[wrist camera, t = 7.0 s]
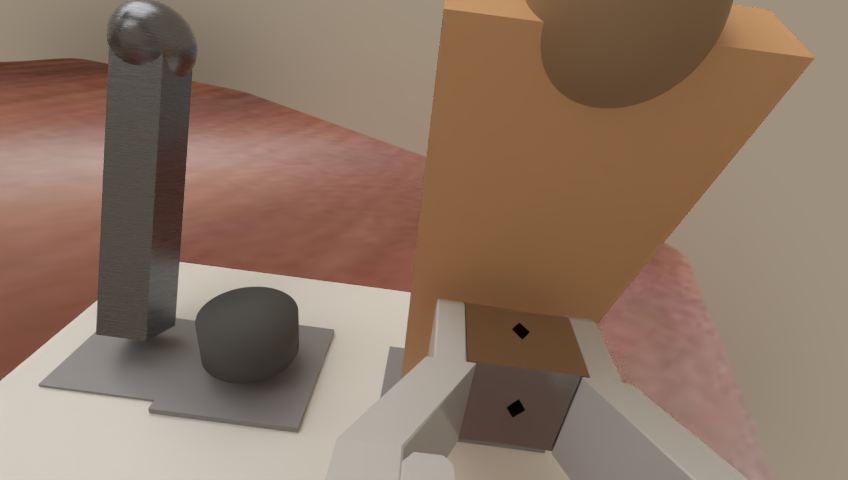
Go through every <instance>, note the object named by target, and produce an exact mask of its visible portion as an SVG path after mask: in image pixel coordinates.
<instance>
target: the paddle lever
mask: <svg viewBox="0 0 848 480" xmlns="http://www.w3.org/2000/svg"><path fill="white" fill-rule="evenodd" d="M732 3H733V0H445V4H444V10H443V19H442V27H441V37H440V45H439V54H438V62H437V71H436V79H435V89H434V97H433V105H432V114H431V123H430V132H429V140H428V150H427V157H426V166H425V175H424V183H423V192H422V201H421V209H420V218H419V227H418V235H417V244H416V253H415V261H414V270H413V279H412V287H411V296H410V305H409V313H408V322H407V331H406V339H405V348H404V357H403V365H402V374H401V379H402V378H403V377H404V376H405V375H406V374H407V373H408V372H410V371H411V370H412V369H413V368H414V367H415V366H416V365H417V364H418V363H419V362H420V361H422V360H423V359H424V358H425V357H426V356H428V351H429V344H430V338H431V332H432V327H433V321H434V315H435V309H436V303H437V300H438V299H445V300H452V301H460V302H463V303H464V302H467V303H473V304H479V305H486V306H492V307H499V308H505V309H511V310H515V311H522V312H530V313H538V314H546V315H554V316H562V317H565V316H568V317H578V318H587V319H592V320H593V321H595V322H596V324H598V323H599V321H600V320H601V319H602V318H603V316H604V315H605V314H606V313H607V312H608V310H609V309H610V308H611V307H612V305H613V304H614V303H615V302H616V301H617V299H618V298H619V297H620V296H621V294H622V293H623V292H624V291H625V290H626V288H627V287H628V286H629V285H630V283H631V282H632V281H633V280H634V279H635V277H636V276H637V275H638V274H639V272H640V271H641V270H642V269H643V268H644V266H645V265H646V264H647V263H648V261H649V260H650V259H651V258H652V257H653V255H654V254H655V253H656V252H657V250H658V249H659V248H660V247H661V245H662V244H663V243H664V242H665V240H666V239H667V238H668V237H669V236H670V234H671V233H672V232H673V231H674V230H675V228H676V227H677V226H678V225H679V223H680V222H681V221H682V219H683V218H684V217H685V216H686V215H687V214H688V212H689V211H690V210H691V209H692V208H693V206H694V205H695V204H696V203H697V201H698V200H699V199H700V198H701V196H702V195H703V194H704V193H705V192H706V190H707V189H708V188H709V187H710V186H711V184H712V183H713V182H714V181H715V179H716V178H717V177H718V176H719V175H720V173H721V172H722V171H723V170H724V168H725V167H726V166H727V164H728V163H729V162H730V161H731V160H732V159H733V157H734V156H735V155H736V154H737V152H738V151H739V150H740V149H741V148H742V146H743V145H744V144H745V143H746V141H747V140H748V139H749V138H750V137H751V135H752V134H753V133H754V132H755V130H756V129H757V128H758V126H759V125H760V124H761V123H762V122H763V121H764V119H765V118H766V117H767V116H768V114H769V113H770V112H771V111H772V110H773V108H774V107H775V106H776V105H777V103H778V102H779V101H780V100H781V99H782V97H783V96H784V95H785V94H786V93H787V91H788V90H789V89H790V88H791V86H792V85H793V84H794V83H795V81H796V80H797V79H798V78H799V76H800V75H801V74H802V73H803V72H804V70H805V69H806V68H807V67H808V65H809V64H810V63H811V62H812V61H813V59H814V57H813V56H812V55H811V54H810V53H809V52H808V51H807V50H806V48H805V47H804V46H803V45H802V44H801V43H800V42H799V41H798V40H797V39H796V38H795V37H794V36H793V34H792V33H791V32H790V31H789V30H788V29H787V28H786V27H785V26H784V25H783V24H782V23H781V22H780V20H778V18H777V17H776V16H775V15H774V14H773V13H772V12H771V11H770V10H768V9H761V8H753V7H745V6H738V5H732Z"/></svg>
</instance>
